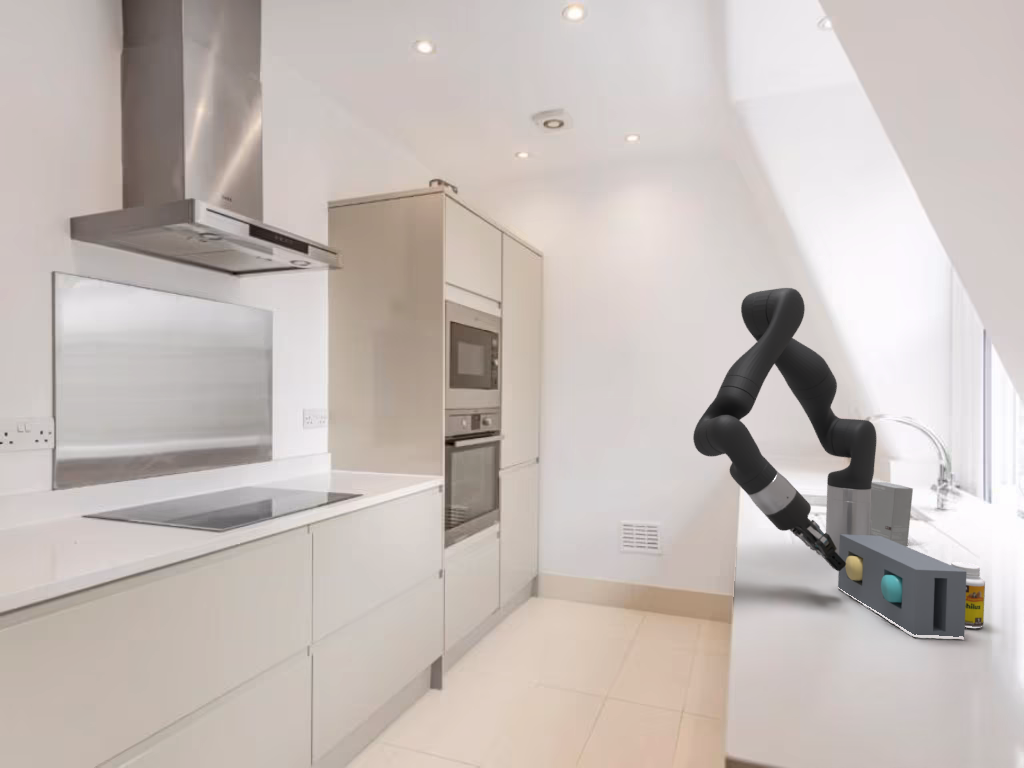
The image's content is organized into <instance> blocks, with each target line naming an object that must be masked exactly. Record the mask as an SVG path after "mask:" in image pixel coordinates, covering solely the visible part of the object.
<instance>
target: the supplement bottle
mask: <svg viewBox="0 0 1024 768" xmlns="http://www.w3.org/2000/svg"><path fill="white" fill-rule="evenodd" d="M950 565H952V566H954V567H956V568H959V569H961V570H964V571H966V602H965V626H972V627H981V626H984V621H985V620H984V619H985V618H984V617H985V616H984V615H985V597H986V595H985V594H986V593H985V591H986V581H985V580H984V578H981V576H980V574H981V572H980V570H981V569H980V566H978V565H977V564H973V563H969V562H963V561H962V562H961V561H952V562H951V564H950Z"/></svg>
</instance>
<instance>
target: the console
mask: <svg viewBox="0 0 1024 768" xmlns="http://www.w3.org/2000/svg"><path fill="white" fill-rule="evenodd" d="M839 556H840V557H841V558H842V559H843V560H844V562H845V563H846V559H847V557H848V556H860V557H862V558H863V574H862V580H851V579H850V578H849V577H848V575H847V573H846V568H845V567H844V568H842V569H841V570H840V571H838V574H837V575H838V580H837V588H838V587H839V588H840V589H842V590H843V591H845V592H846V593H848V594H849V595H851V596H853V597H854V598H856V599H857V600H859V601H861V602H862V603H864V604H866V605H867V606H869V607H871V608H872V609H874V610H876V611H877V612H879V613H881V614H882V615H884V616H885V617H887V618H888V619H890V620H892V621H893V622H895V623H896V624H898V625H899V626H901V627H903V628H904V629H906V630H907V631H909V632H911V633H912V634H914V635H916V634H917V635H939V636H953V637H959V636H963V637H964V638H965V633H966V632H965V631H966V630H965V629H966V628H965V602H966V571H964V570H961V569H959V568H956V567H954V566H952V565H951V564H950V563H947V562H944V561H942V560H939V559H936V558H934V557H932V556H930V555H927V554H925V553H923V552H920V551H918V550H916V549H913V548H911V547H908V546H903V545H901V544H899V543H896V542H894V541H891V540H889V539H887V538H884V537H882V536H871V535H846V534H840V544H839ZM885 575H897V576H899V577H901V578H903V580H902V603H899V602H888V601H887V600H886V599H885V598H884V596H883V594H882V590H881V580H882V578H883V576H885Z"/></svg>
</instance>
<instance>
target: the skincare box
mask: <svg viewBox="0 0 1024 768" xmlns="http://www.w3.org/2000/svg"><path fill="white" fill-rule="evenodd" d="M913 490H914V488H912V487H908V486H905V485H900V484H895V483H891V482H885V481H883V482H882V481H880V482H879V481H872V486H871V517H870V520H871V521H872V532H871V536H882V537H884V538H887V539H889V540H891V541H894V542H896V543H899V544H901V545H903V546H906V547H908V545H909V544H908V542H909V531H910V523H911V522H910V521H911V511H912V501H913Z"/></svg>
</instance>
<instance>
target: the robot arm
mask: <svg viewBox="0 0 1024 768" xmlns="http://www.w3.org/2000/svg"><path fill="white" fill-rule="evenodd" d="M740 308H741V309H740V311H741V313H740V314H741V317H742V320H743V323H744V325H745V327H746V329H747V330H748V332H749V333H750V334H751V335H752V337H753V338H754V339H755V341H756V342H755V343H754V344H753V345H752V346H751V347H750V348H749V349H747V350H746V351H745V352H744V353H743V354H742V355H741V356H740V357H739V358H738V359H737V360H736V361H735V362H734V363H733V364H732V365H731V367H730V368H729V369H728V371H727V373H726V375H725V377H724V379H723V380H722V383H721V385H720V387H719V389H718V391H717V394H716V397H715V398H714V400H713V401H712V402H711V403H710V405H708V407H707V409H706V410H705V412H704V413H703V414H702V415H701V417H700V419H698V422H696V423H697V424H696V425H695V428H694V431H693V439H692V440H693V444H694V447H695V449H696V451H698V452H699V453H700V454H701V455H704V456H706V457H717V456H721V455H722V456H723V455H726V456H727V457H728V459H729V460H730V461H731V463H730V467H729V474H730V476H731V477H732V479H733V480H734V482H736V484H738V485H739V487H740V488H741V489H742V490H744V492H745V493H746V494H747V495H748V497H749V499H751V501H752V502H753V504H754V505H755V506H756V507H757V508H758V509H759V510H760V511H761V513H762V514H764V516H765V517H767V519H768V520H769V521H770V522H771V524H773V525H774V527H775V528H776V529H778V530H779V531H784V532H785V531H790V532H791V533H792V534H793V535H794V536H795V537H797V538H799V539H800V541H802V543H804V544H805V545H806V546H807V547H809V549H810V550H812V551H814V552H815V553H816V554H817V555H819V556H820V557H822V558H823V559H824V560H825V561H826V562H827V563H828V564H829V566H830V567H832V569H833V570H835V571H837V572H839V571H840V570H841V569H842V568H844V567H845V566H846V563H845V562H844V560H843V559H842V558H841V557H840V556H839V544H840V534H846V535H871V532H872V521H871V520H870V517H871V486H872V482H873V479H874V475H875V474H874V473H875V461H876V450H877V441H878V440H877V431H876V428H875V425H874V424H873V422H871V421H869V420H867V419H856V418H842V417H841V418H840V417H838V416H837V415H836V414H835V413H834V411H833V409H832V404H833V402H834V399H835V396H836V394H837V390H838V389H837V388H838V382H837V379H836V377H835V374H834V373H833V372H832V370H831V368H830V366H829V364H828V363H827V361H826V360H825V359H824V358H823V357H822V356H821V355H820V354H819V353H817V352H816V351H814V350H813V349H811V348H810V347H809V346H806V345H805V344H803V343H801V342H800V341H799V340H797V339H795V338H793V337H794V336H795V334H796V333H797V331H798V330H799V328H800V327H801V324H802V322H803V319H804V316H805V312H806V308H805V301H804V299H803V296H802V294H801V293H800V291H799V290H797V289H795V288H792V287H778V288H774V289H766V290H760V291H754V292H752V293H749V294H747V295H746V296H745V297H744V298H743V300H742V302H741V307H740ZM774 365H775V367H776V368H777V370H778V371H779V372H780V375H782V377H783V379H784V381H785V382H786V384H787V386H788V388H789V389H790V391H791V392H792V394H793V396H794V397H795V398H796V400H797V401H798V402H799V405H800V406H801V407H802V409H803V412H804V413H805V414H806V416H807V417H808V419H809V422H810V424H811V425H812V428H813V430H814V432H815V434H816V437H817V438H818V440H819V444H820V445H821V447H822V448H823V449H824V451H825V452H826V453H827V454H829V455H830V456H834V457H839V458H849V459H850V461H849V465H848V466H846V467H845V468H843V469H840V470H834V471H831V472H829V473H828V474H827V480H826V481H827V482H826V483H827V485H826V487H827V488H826V513H825V515H826V517H825V533H824V531H823V530H821V528H820V525H819V524H818V523H817V522H816V521H815V520H814V519H810V518H809V515H810V513H811V509H812V508H811V504H810V502H808V501H807V500H806V499H805V497H804V496H803V495H802V494H801V493H800V492H799V491H798V489H796V487H794V485H793V484H792V483H791V482H790V481H789V480H788V479H787V478H786V477H785V476H783V474H781V473H780V472H779V471H778V470H777V469H776V468H775V467H774V466H773V465H772V464H771V463H770V462H769V461H768V460H767V458H766V457H764V456H763V454H762V453H761V451H760V448H759V446H758V444H757V443H756V440H755V439H754V437H753V436H752V434H751V432H750V431H749V429H748V427H747V426H746V425H745V423H743V422H742V421H741V420H742V419H743V418H745V417H746V416H747V415H749V414H750V412H751V411H752V409H753V408H754V405H755V402H756V400H757V398H758V396H759V393H761V389H762V386H763V385H764V383H765V380H766V379H767V377H768V375H769V373H770V371H771V370H772V368H773V367H774Z"/></svg>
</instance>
